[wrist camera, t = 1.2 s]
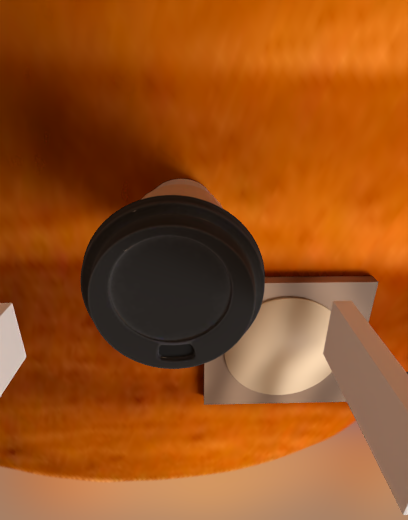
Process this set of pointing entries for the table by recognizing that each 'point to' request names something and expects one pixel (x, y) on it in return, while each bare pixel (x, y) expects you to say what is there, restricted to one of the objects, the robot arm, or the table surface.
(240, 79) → the table surface
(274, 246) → the table surface
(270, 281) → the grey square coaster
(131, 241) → the coffee cup
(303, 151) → the table surface
